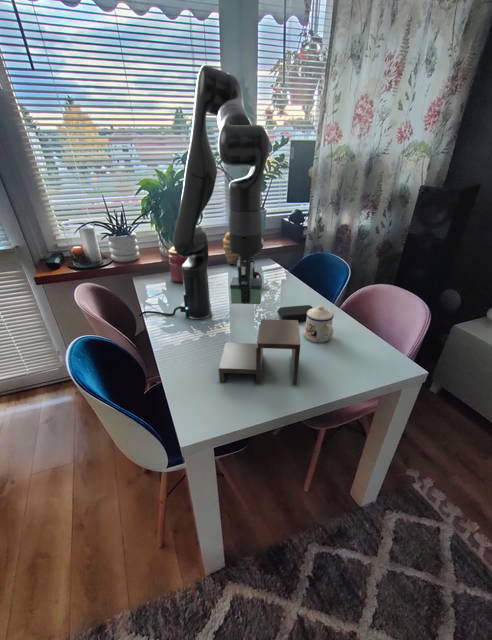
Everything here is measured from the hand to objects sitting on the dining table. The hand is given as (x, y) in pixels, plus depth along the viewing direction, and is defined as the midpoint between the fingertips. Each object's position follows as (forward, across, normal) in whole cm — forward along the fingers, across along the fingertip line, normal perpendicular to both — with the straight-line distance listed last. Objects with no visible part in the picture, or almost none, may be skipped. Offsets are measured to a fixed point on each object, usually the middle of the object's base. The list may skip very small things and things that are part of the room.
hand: (246, 297), depth 85 cm
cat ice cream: (+12, -102, -19) cm, 104 cm away
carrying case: (+23, -36, +16) cm, 46 cm away
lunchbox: (+1, 0, 0) cm, 1 cm away
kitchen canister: (+23, -77, -40) cm, 89 cm away
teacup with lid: (+23, -20, +23) cm, 39 cm away
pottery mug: (+23, -69, -5) cm, 73 cm away
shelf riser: (+23, 0, +3) cm, 23 cm away
